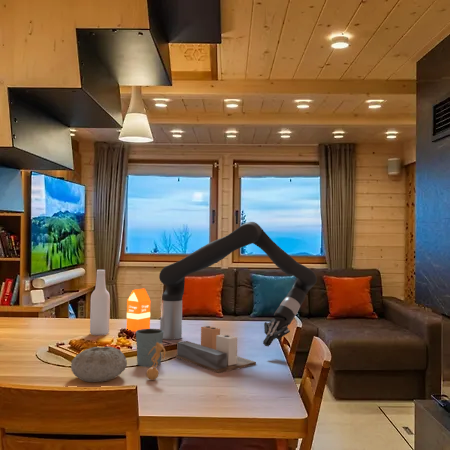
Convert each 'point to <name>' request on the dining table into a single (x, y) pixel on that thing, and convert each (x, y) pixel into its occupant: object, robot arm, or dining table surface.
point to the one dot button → (227, 347)
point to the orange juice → (138, 310)
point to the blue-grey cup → (147, 346)
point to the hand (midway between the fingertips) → (265, 345)
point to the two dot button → (209, 336)
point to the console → (208, 357)
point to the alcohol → (100, 307)
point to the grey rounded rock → (98, 364)
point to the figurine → (152, 371)
